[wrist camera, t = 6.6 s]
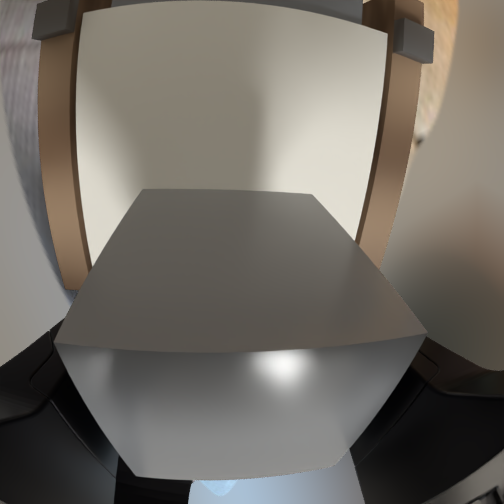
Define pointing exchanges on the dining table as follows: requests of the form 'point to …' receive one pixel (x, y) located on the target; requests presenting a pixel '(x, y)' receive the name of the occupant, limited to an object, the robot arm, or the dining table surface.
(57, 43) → the trapdoor frame
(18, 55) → the dining table surface
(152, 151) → the trapdoor
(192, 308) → the light gray block
